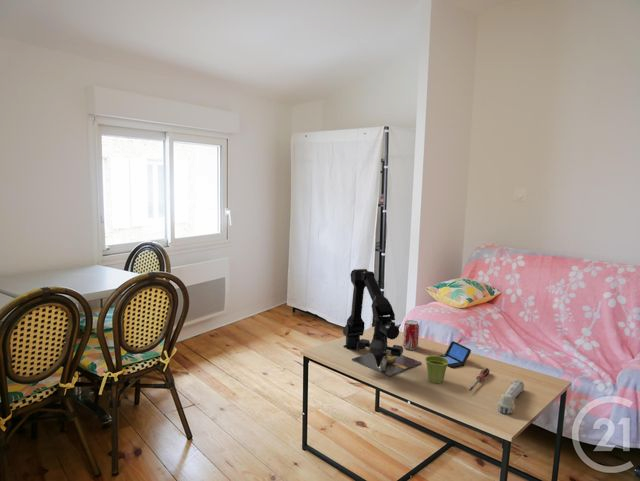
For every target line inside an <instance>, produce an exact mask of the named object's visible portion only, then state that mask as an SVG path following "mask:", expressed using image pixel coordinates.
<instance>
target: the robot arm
mask: <svg viewBox="0 0 640 481" xmlns="http://www.w3.org/2000/svg"><path fill="white" fill-rule="evenodd" d="M349 277H350V282H351V284H352V287H353V293H352V301H351V302H352V303H351V313H350V315H349V317H348V318H347V320H346V324H345V326H344V327H343V328H342V335H344V336H345V344H344V345H343V347H344V348H346V349H348V350H351V351H355V350H362V351H364V350H366V348H369V353H372V354H373V355H374V357H375V359H376V363H377V366H378V367H380V364H381V362H382V360H383V357H384V356H386V355H387V354H388V353H389V351H390V352H391V354H392V355H393V356H398V357H400V356H401V355H403V353H404V346H403V345H398V344H393V345H392V346H388V339H389V340H396V339H397V338H398V337H399V334H400V329H399V327H398V326H397V325H396V322H395V320H396V318H395V316H396V314H395V312H394V310H393V306H392V304H391V303H390V301H389V299H388V298H387V297H386V296H384V295H383V293H382V291H381V289H380V286H379V284H378V282H377V279H376V278H375V273H374V272H373V271H369V270H368V269H366V268H358V269H355V268H354V269H352V270H351V272H350V276H349ZM365 288H366V289H367V291H368V294H369V297H370V298H371V300H372V301H371V302H372V303H371V311H372V314H373V316H372V317H373V319H374V327H373V330H374V332H373V335H372V340H371V341H370V339H364V338H361V336H362V337H363V336H364V333H365V332H364V331H365V322H364V320H363V318H362V311H363V301H364V294H365ZM360 338H361V339H360Z"/></svg>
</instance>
